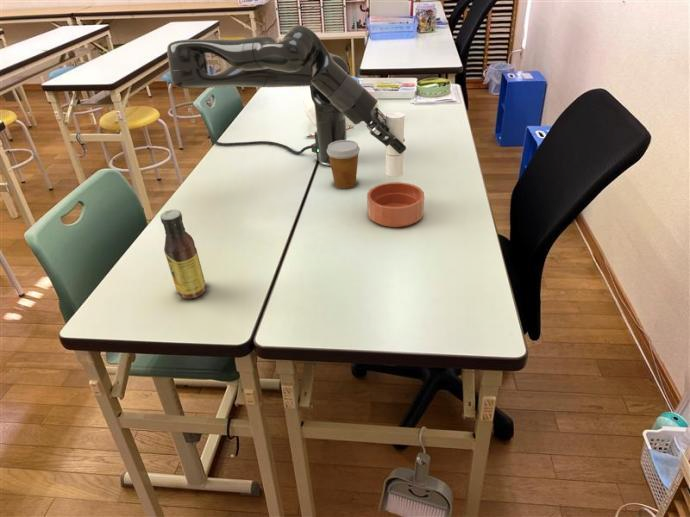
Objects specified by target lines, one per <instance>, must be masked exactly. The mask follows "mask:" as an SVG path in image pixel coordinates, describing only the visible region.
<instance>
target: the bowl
mask: <svg viewBox="0 0 690 517" xmlns="http://www.w3.org/2000/svg"><path fill="white" fill-rule="evenodd" d="M366 204H367V209H366V210H367V217H368V218H369V219H370V220H371V221H372V222H374V223H376V224H378V225H380V226H384V227H389V228H402V227H403V228H404V227H408V226H410V225H413V224H414V223H417V222H418V221H420V220H421V219H422V218H423V216H424V213H425V192H424V190H422V189H421V187H419V186H417V185H415V184H412V183H409V182H401V181H392V182H384V183H381V184H377V185H375V186H374V187H371V188H370V189H369V190H368V192H367V194H366Z"/></svg>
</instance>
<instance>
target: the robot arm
mask: <svg viewBox="0 0 690 517" xmlns="http://www.w3.org/2000/svg"><path fill="white" fill-rule="evenodd" d="M166 50H167V51H166V52H167V62H168V69H169V77H170V82H171V84H172V86H174V87H175V88H178V89H187V90H188V89H189V90H191V89H209V88H225V87H230V88H231V87H241V88H242V87H243V88H244V87H245V88H286V87H289V88H290V87H300V86H309V89H310V92H311V98H312V101H313V103H314V106H315V116H316V126H315V128H316V131H315V132H314V135H315V137H314V143H312V144H311V145H307V146H304V147H303V148H301V149H300V150H299V151H296V150H294V149H292V147H291V148H290V147H289V146H288V145H285V144H282V143H279V142H275V141H270V140H269V141H268V140H256V141H254V140H253V141H239V142H219V141H217V140H216V139H215V137H214V136H213V135H212V134H209V135H208V136H207V137H206V138H207V140H211V142H212V143H214V144H215V145H217V146H223V147H230V146H231V147H232V146H250V145H272V146H276V147H280V148H283V149H286V150H287V151H288V152H290V153H292V154H294V155H301V154H303V153H304V152H306V151H307V150H310V149H311V153H314V154H316V161H317V162H318V163H319V164H320V165H322V166H326V167H331V164H330V159H329V155H328V153H327V149H328V145H329V144H330V143H332V142H335V141H339V140H348V139H347V130H346V129H347V122H346V121H347V120H349V121H350V122H351V123H352V124H354V125H359V124H360V123H361V122H364V123H365V124H366V129H368V130H369V134H370V135H371V136H373V137H374V138H375V139H377V140H378V141H379V142H380V143H381V144H383V145H384V146H385V147H386V146H388V145H390V146H392V147H393V148H394V149H395V150H396V151H397V152H398V153H399V154H401V153H403V154H404V152H405V151H406V150H407V146H406V144H403V143H402V142H401V141H400V140H399V139H397V138H396V137H395V135H394V134H393V133H392V132H391V131H390V127H389V126H388V125H387V124H386V115H385V114H384V113H383V112H382V111H381V110H380V108H379V107H377V106H376V105H377V99H376V98H375V97H374V96H373V95H372V94H371V93H370V92H369V91H368V90H367V89H366V88H365V87H364V86H363V85H362V84H360V83H359V82H358V81H357V80H356V79H355V78H354V77H352V76H351V75H350V68H349V65H348V63H347V61H346V60H344V58H342V57H341V56H339V55H337V54H333V53H330V52H329V51H328V49H327V48H326V47H325V45H324V43H323V42H322V40H321V38H319V36H318V35H317V34H316V32H314V31H313V30H312V29H311V28H309V27H307V26H305V25H301V24H297V25H293V26H292V27H291V28H290V29H289V30H288V31H287V33H285V35H284V37H283V38H282V39H281V40H280V41H278V42H277V40H276V39H275V38H274V37H272V36H270V35H258V36H252V37H244V38H233V39H232V38H228V39H227V38H226V39H225V38H195V39H192V38H191V39H179V40H175V41H172V42H170V43H169V44H168V45H167V48H166ZM207 54H212V55H214V56H216V57H218V58H220V59H221V60H223V61H224V62H226V63H227V64H229V66H228V67H226V68H224V69H223V70H221V71H218V72H216V73H214V74H210V73H209V68H208V58H207ZM345 116H346V117H347V120H346V119H345ZM386 136H388V137H389V138H388V139H386ZM405 140H406V139H404V142H405Z"/></svg>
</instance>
